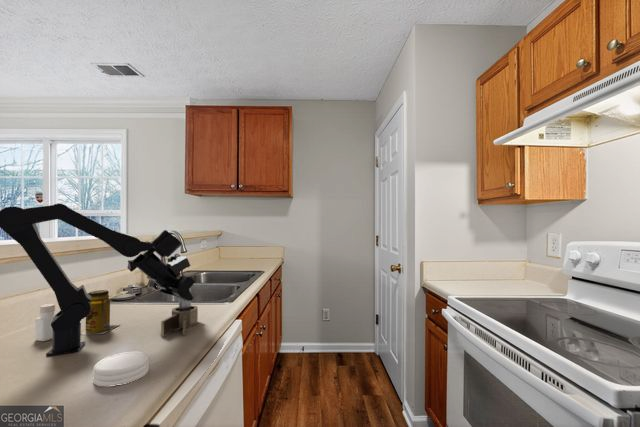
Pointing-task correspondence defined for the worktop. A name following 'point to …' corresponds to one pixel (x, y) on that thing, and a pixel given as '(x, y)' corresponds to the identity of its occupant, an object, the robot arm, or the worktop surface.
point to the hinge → (179, 320)
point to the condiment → (99, 314)
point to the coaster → (121, 368)
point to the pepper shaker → (45, 323)
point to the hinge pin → (184, 304)
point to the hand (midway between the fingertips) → (188, 298)
